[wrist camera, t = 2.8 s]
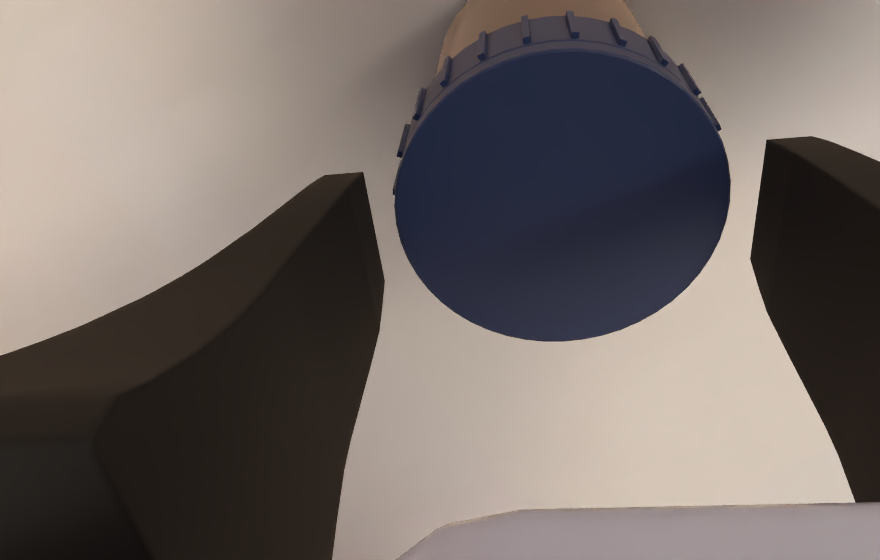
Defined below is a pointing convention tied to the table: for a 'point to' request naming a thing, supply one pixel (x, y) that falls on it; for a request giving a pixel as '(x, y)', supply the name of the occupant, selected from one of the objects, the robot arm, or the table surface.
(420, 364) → the table surface
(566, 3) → the jar
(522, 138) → the jar lid
